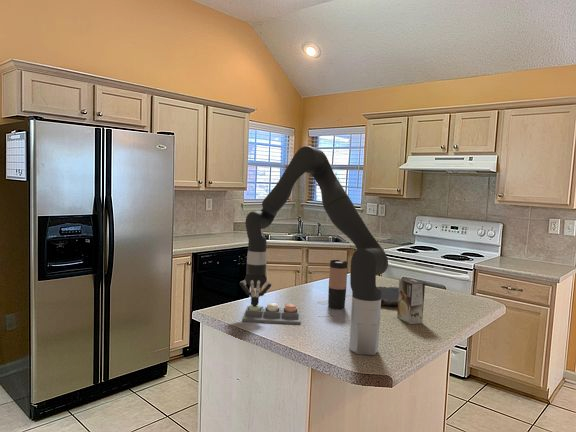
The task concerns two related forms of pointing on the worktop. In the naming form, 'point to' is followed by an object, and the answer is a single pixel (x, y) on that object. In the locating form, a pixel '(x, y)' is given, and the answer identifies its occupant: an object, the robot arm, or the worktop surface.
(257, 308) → the sage button
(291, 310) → the terracotta button
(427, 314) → the worktop surface
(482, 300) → the worktop surface
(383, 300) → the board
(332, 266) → the travel mug
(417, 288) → the coffee box
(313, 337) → the worktop surface
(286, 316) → the button panel
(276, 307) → the cream button
